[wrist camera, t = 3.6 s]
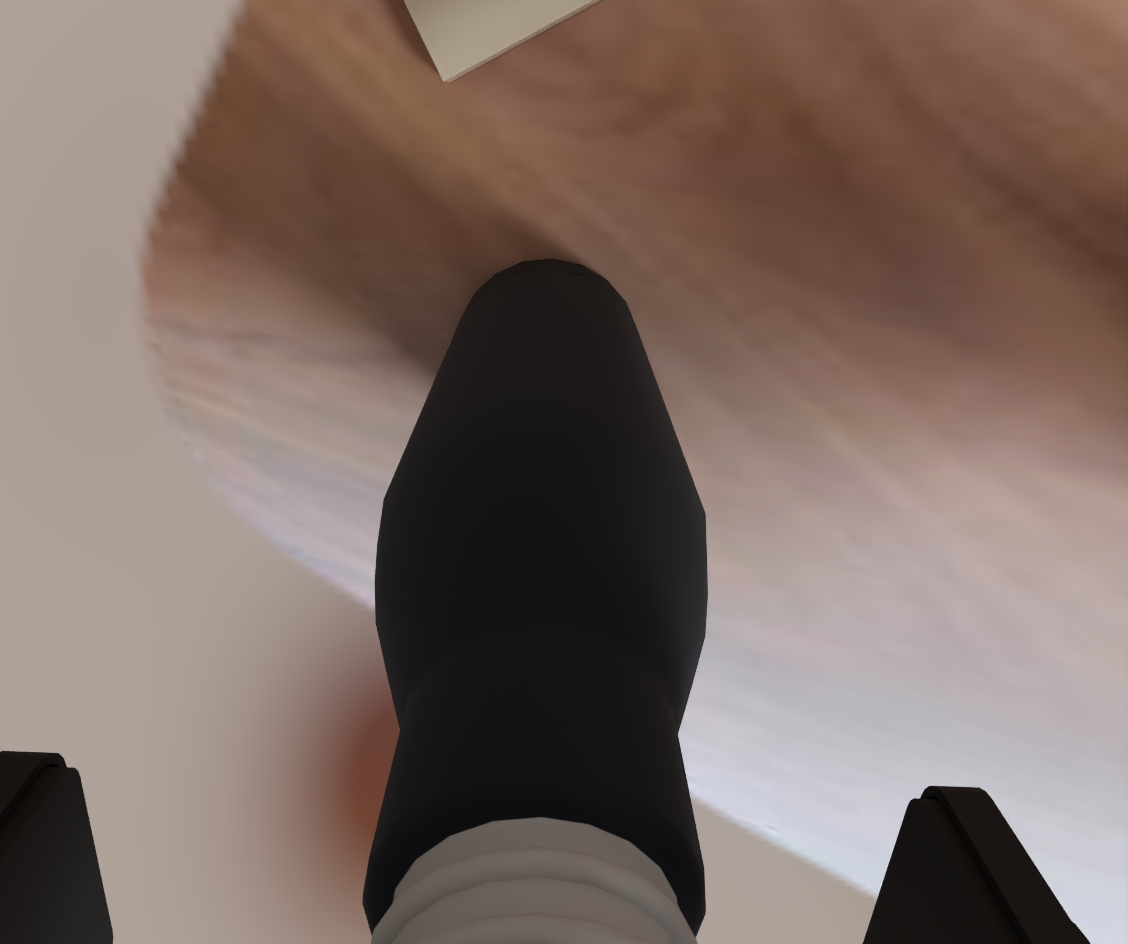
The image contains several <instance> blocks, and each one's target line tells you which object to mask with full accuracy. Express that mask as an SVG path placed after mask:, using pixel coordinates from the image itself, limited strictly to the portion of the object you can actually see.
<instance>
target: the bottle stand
mask: <svg viewBox="0 0 1128 944" xmlns="http://www.w3.org/2000/svg"><path fill="white" fill-rule="evenodd" d="M599 1H600V0H404V2H405V5H406V7H407V9H408V11H409V13H410V15H411V17H412V19H413V21H414V23H415V25H416V27H417V29H418V31H419V33H420V35H421V37H422V39H423V41H424V43H425V45H426V47H427V50H428V52H429V54H430V56H431V58H432V60H433V62H434V64H435V66H436V68H437V70H438V72H439V74H440V76H441V78H442V80H443V82H448V83H450V82H451V81H453V80H455V79H457V78H459V77H461V76H462V75H464V74H466V73H468V72H470V71H472V70H473V69H475V68H477V67H479V66H481V65H483V64H484V63H486V62H488V61H490V60H492V59H494V58H496V57H497V56H499V55H501V54H503V53H505V52H507V51H508V50H510V49H512V48H514V47H516V46H518V45H519V44H521V43H523V42H525V41H527V40H529V39H530V38H532V37H534V36H536V35H538V34H540V33H542V32H543V31H545V30H547V29H549V28H551V27H553V26H554V25H556V24H558V23H560V22H562V21H564V20H565V19H567V18H569V17H571V16H573V15H575V14H576V13H578V12H580V11H582V10H584V9H586V8H587V7H589V6H591V5H593V4H595V3H597V2H599Z"/></svg>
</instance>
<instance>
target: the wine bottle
mask: <svg viewBox="0 0 1128 944" xmlns="http://www.w3.org/2000/svg"><path fill="white" fill-rule="evenodd" d="M707 600H708V581H707V546H706V516H705V511H704V509H703V506H702V503H701V501H700V498H699V495H698V492H697V490H696V487H695V484H694V482H693V479H692V476H691V473H690V471H689V468H688V465H687V463H686V460H685V457H684V455H683V452H682V449H681V446H680V444H679V441H678V438H677V436H676V433H675V430H674V427H673V425H672V422H671V419H670V417H669V414H668V411H667V409H666V406H665V403H664V400H663V398H662V395H661V392H660V390H659V387H658V384H657V382H656V379H655V376H654V373H653V371H652V368H651V365H650V363H649V360H648V357H647V354H646V352H645V349H644V346H643V344H642V341H641V338H640V336H639V333H638V330H637V328H636V325H635V323H634V320H633V318H632V315H631V313H630V310H629V308H628V306H627V303H626V301H625V300H624V299H623V298H622V297H621V296H620V295H619V293H618V292H617V291H616V290H615V289H614V288H613V286H612V285H611V284H610V283H609V282H608V281H607V280H606V279H604V278H603V277H601V276H599V275H597V274H596V273H594V272H592V271H591V270H589V269H587V268H586V267H584V266H582V265H579V264H574V263H570V262H565V261H561V260H556V259H545V260H535V261H525V262H521V263H519V264H517V265H515V266H512V267H510V268H508V269H506V270H503V271H501V272H499V273H497V274H495V275H494V276H493V277H492V278H491V279H490V280H489V281H488V282H487V283H486V284H484V285H483V286H482V287H481V288H480V289H479V290H478V291H477V292H476V293H475V294H474V296H473V297H472V299H471V301H470V303H469V305H468V307H467V308H466V310H465V312H464V314H463V316H462V318H461V320H460V322H459V324H458V327H457V329H456V331H455V334H454V336H453V338H452V341H451V343H450V345H449V348H448V350H447V352H446V355H445V357H444V359H443V362H442V364H441V367H440V369H439V371H438V374H437V376H436V378H435V381H434V383H433V385H432V388H431V390H430V392H429V395H428V397H427V399H426V402H425V404H424V406H423V409H422V411H421V413H420V416H419V418H418V420H417V423H416V425H415V427H414V430H413V432H412V434H411V437H410V439H409V441H408V444H407V446H406V448H405V451H404V453H403V455H402V458H401V460H400V462H399V465H398V467H397V469H396V472H395V474H394V476H393V479H392V481H391V483H390V486H389V488H388V490H387V493H386V495H385V498H384V502H383V509H382V516H381V523H380V530H379V536H378V543H377V556H376V570H375V614H376V626H377V631H378V635H379V640H380V644H381V649H382V654H383V658H384V663H385V667H386V672H387V676H388V681H389V685H390V689H391V694H392V698H393V702H394V707H395V711H396V715H397V719H398V723H399V727H400V734H399V738H398V741H397V746H396V750H395V754H394V758H393V762H392V766H391V770H390V774H389V778H388V783H387V787H386V791H385V795H384V799H383V803H382V807H381V811H380V815H379V819H378V823H377V828H376V832H375V836H374V840H373V844H372V848H371V852H370V856H369V862H368V868H367V874H366V879H365V885H364V891H363V906H364V910H365V914H366V917H367V920H368V924H369V928H370V931H371V934H372V940H371V944H697V940H696V936H697V933H698V931H699V928H700V926H701V923H702V921H703V919H704V916H705V912H706V911H705V910H706V902H705V878H704V865H703V860H702V855H701V850H700V845H699V840H698V835H697V829H696V824H695V819H694V814H693V809H692V804H691V799H690V794H689V789H688V784H687V779H686V774H685V769H684V763H683V758H682V753H681V748H680V743H679V738H678V732H679V728H680V725H681V722H682V718H683V715H684V711H685V708H686V704H687V701H688V698H689V694H690V691H691V687H692V684H693V680H694V676H695V672H696V669H697V665H698V661H699V657H700V654H701V650H702V646H703V642H704V639H705V631H706V615H707Z"/></svg>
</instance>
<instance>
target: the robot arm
mask: <svg viewBox="0 0 1128 944" xmlns="http://www.w3.org/2000/svg"><path fill="white" fill-rule="evenodd" d="M0 944H113V931H112V927H111V921H110V917H109V912H108V907H107V903H106V898H105V893H104V888H103V883H102V878H101V874H100V869H99V864H98V859H97V855H96V850H95V845H94V840H93V836H92V831H91V826H90V821H89V817H88V812H87V807H86V802H85V798H84V793H83V788H82V783H81V778H80V775H79V772H78V771H77V770H76V769H75V768H68V767H67V766H66V764H65V761H64V758H63V757H62V756H61V755H60V754H59V753H42V752H15V751H1V752H0ZM863 944H1090V942H1089V941H1088V939H1087V938H1086V937H1085V936H1084V934H1083V933H1082V932H1081V931H1080V929H1079V928H1078V927H1077V926H1076V924H1074V923H1073V922H1072V921H1071V920H1070V918H1069V917H1068V915H1067V914H1066V912H1065V910H1064V909H1063V907H1062V906H1061V904H1060V903H1059V901H1058V900H1057V898H1056V897H1055V895H1054V894H1053V892H1052V890H1051V889H1050V887H1049V886H1048V884H1047V883H1046V881H1045V880H1044V878H1043V877H1042V875H1041V874H1040V872H1039V870H1038V869H1037V867H1036V866H1035V864H1034V863H1033V861H1032V860H1031V858H1030V857H1029V855H1028V854H1027V852H1026V850H1025V849H1024V847H1023V846H1022V844H1021V843H1020V841H1019V840H1018V838H1017V837H1016V835H1015V834H1014V832H1013V830H1012V829H1011V827H1010V826H1009V824H1008V823H1007V821H1006V820H1005V818H1004V817H1003V815H1002V814H1001V812H1000V811H999V809H998V807H997V806H996V804H995V803H994V801H993V800H992V798H991V797H990V796H989V795H988V794H987V792H986V791H984V790H982V789H981V788H975V787H948V786H929V787H927V788H926V789H925V790H924V792H923V794H922V796H921V798H920V799H912V800H911V801H910V802H909V804H908V806H907V810H906V813H905V816H904V819H903V822H902V825H901V828H900V831H899V834H898V837H897V840H896V843H895V846H894V849H893V853H892V856H891V859H890V862H889V865H888V868H887V871H886V874H885V877H884V880H883V883H882V886H881V889H880V892H879V896H878V899H877V902H876V905H875V908H874V911H873V914H872V917H871V920H870V923H869V926H868V929H867V932H866V936H865V939H864V942H863Z"/></svg>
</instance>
